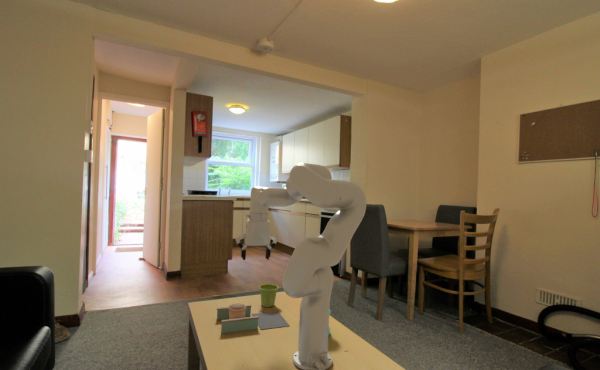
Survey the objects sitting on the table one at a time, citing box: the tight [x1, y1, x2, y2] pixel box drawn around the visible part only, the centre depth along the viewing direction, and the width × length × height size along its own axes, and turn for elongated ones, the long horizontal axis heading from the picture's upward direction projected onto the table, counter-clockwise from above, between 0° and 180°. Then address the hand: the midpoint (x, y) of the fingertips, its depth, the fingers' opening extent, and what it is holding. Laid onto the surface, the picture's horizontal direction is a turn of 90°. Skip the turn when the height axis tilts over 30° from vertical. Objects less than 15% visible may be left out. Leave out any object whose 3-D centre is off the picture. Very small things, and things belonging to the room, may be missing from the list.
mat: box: [251, 310, 290, 331], centre depth 131 cm, size 16×12×1 cm
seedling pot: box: [227, 302, 247, 319], centre depth 126 cm, size 7×7×7 cm
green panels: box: [216, 304, 259, 334], centre depth 126 cm, size 14×14×5 cm
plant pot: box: [258, 283, 279, 308], centre depth 149 cm, size 9×9×9 cm
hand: (255, 259), depth 126 cm, fingers open, 9 cm apart
